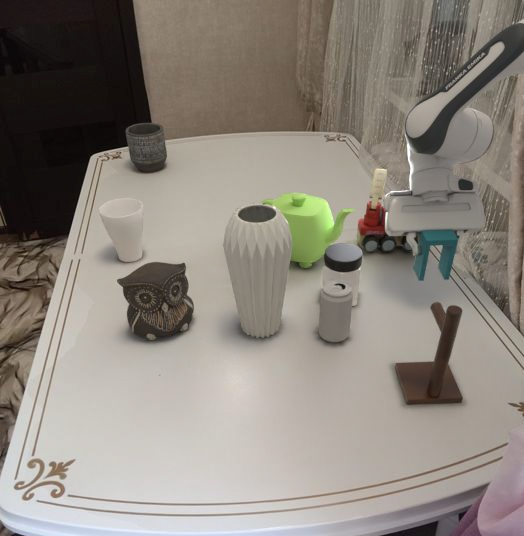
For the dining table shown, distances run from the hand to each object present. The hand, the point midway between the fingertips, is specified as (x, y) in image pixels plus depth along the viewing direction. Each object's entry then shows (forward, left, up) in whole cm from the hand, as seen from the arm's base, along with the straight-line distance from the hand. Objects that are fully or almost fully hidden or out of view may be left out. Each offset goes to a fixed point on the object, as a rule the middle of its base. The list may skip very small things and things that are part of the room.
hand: (436, 254), depth 113 cm
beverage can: (+11, +22, -13) cm, 27 cm away
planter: (+109, -17, -13) cm, 111 cm away
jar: (+17, +10, -13) cm, 23 cm away
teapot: (+34, +2, -13) cm, 36 cm away
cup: (+70, +26, -13) cm, 75 cm away
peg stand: (-11, +24, -13) cm, 29 cm away
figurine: (+43, +41, -13) cm, 60 cm away
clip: (0, 0, -5) cm, 5 cm away
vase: (+25, +29, -13) cm, 40 cm away
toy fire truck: (+21, -19, -13) cm, 31 cm away
